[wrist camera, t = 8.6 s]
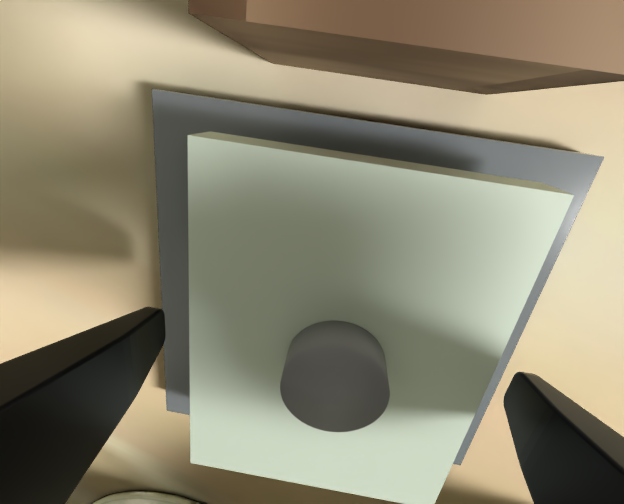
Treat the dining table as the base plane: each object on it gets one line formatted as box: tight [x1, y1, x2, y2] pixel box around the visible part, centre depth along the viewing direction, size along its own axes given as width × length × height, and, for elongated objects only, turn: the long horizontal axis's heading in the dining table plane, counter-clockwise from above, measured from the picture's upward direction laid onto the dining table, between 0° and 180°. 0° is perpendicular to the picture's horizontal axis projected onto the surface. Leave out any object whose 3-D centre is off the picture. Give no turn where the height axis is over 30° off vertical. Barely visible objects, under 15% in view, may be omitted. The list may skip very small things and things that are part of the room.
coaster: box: [152, 89, 604, 465], centre depth 11 cm, size 11×11×1 cm
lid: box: [187, 131, 574, 504], centre depth 9 cm, size 7×10×3 cm
